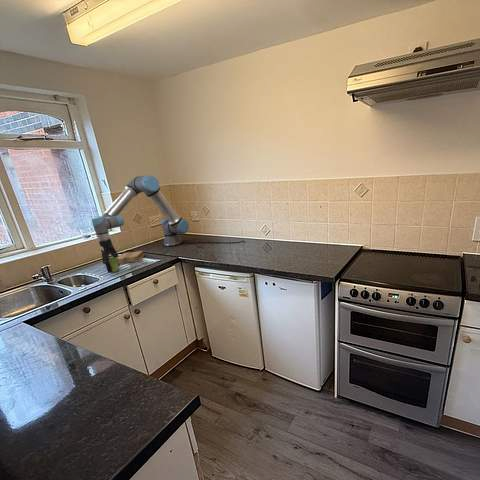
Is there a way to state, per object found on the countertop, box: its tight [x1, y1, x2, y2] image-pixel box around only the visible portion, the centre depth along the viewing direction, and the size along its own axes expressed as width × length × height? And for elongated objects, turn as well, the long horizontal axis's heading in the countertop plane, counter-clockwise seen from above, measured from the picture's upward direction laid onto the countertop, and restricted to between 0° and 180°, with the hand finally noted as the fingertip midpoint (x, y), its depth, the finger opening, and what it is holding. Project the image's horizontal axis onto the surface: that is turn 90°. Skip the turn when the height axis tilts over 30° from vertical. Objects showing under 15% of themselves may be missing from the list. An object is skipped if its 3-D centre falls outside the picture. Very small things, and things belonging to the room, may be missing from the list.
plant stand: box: [118, 250, 146, 265], centre depth 232 cm, size 16×16×4 cm
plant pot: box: [109, 256, 120, 273], centre depth 208 cm, size 9×9×9 cm
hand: (114, 269), depth 209 cm, fingers open, 13 cm apart
